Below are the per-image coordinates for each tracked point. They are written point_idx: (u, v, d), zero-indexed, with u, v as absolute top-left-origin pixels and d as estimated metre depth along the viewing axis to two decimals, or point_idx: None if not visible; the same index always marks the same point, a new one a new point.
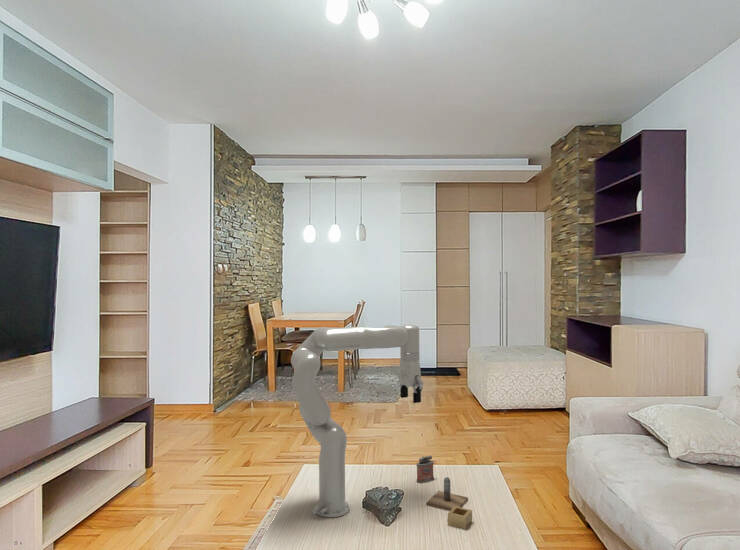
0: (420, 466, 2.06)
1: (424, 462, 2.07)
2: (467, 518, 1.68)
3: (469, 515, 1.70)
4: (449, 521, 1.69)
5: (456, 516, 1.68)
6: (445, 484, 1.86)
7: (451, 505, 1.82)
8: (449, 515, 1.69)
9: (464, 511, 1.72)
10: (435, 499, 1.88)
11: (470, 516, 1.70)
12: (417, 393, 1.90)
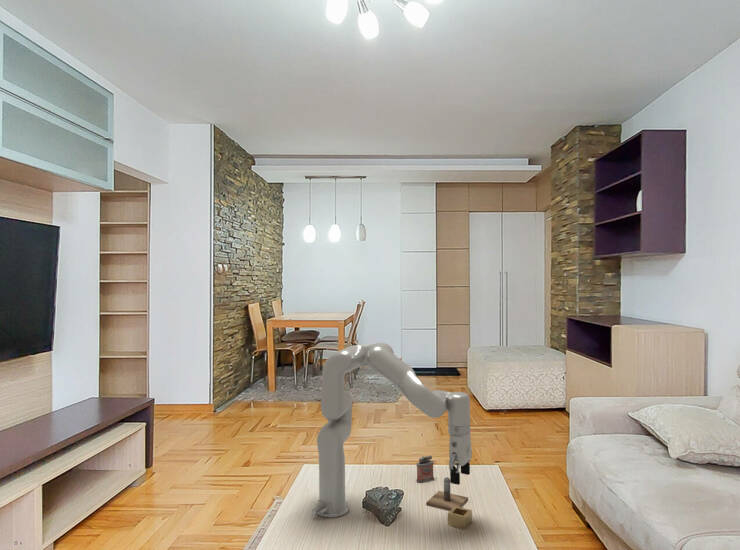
0: (420, 466, 2.06)
1: (424, 462, 2.07)
2: (467, 518, 1.68)
3: (469, 515, 1.70)
4: (449, 521, 1.69)
5: (456, 516, 1.68)
6: (445, 484, 1.86)
7: (451, 505, 1.82)
8: (449, 515, 1.69)
9: (464, 511, 1.72)
10: (435, 499, 1.88)
11: (470, 516, 1.70)
12: None
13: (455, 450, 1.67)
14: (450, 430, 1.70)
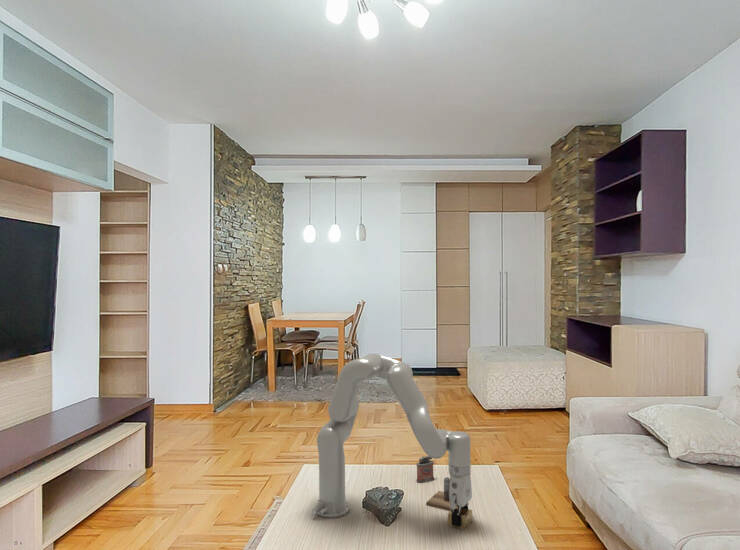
0: (420, 466, 2.06)
1: (424, 462, 2.07)
2: (467, 518, 1.68)
3: (469, 515, 1.70)
4: (449, 521, 1.69)
5: None
6: (445, 484, 1.86)
7: None
8: (449, 515, 1.69)
9: (464, 511, 1.72)
10: (435, 499, 1.88)
11: (470, 516, 1.70)
12: None
13: (455, 491, 1.66)
14: (450, 470, 1.69)
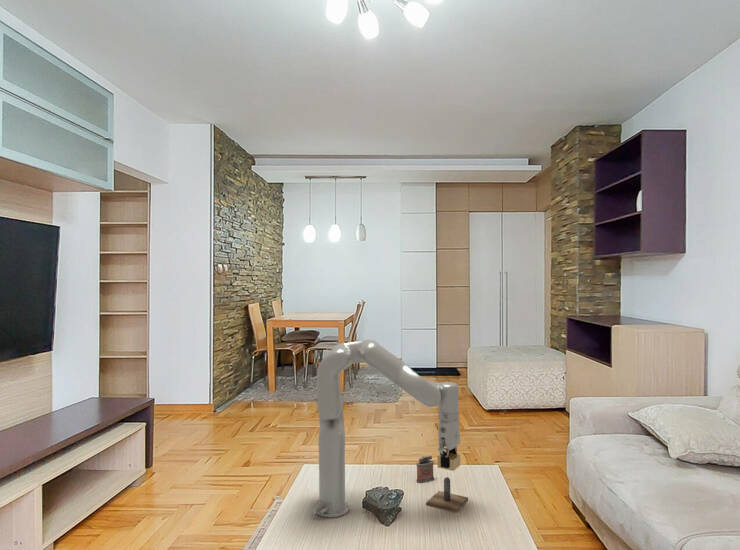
0: (420, 466, 2.06)
1: (424, 462, 2.07)
2: (455, 461, 1.81)
3: (457, 458, 1.83)
4: (439, 464, 1.83)
5: None
6: (445, 484, 1.86)
7: (451, 505, 1.82)
8: (439, 458, 1.83)
9: (453, 455, 1.86)
10: (435, 499, 1.88)
11: (458, 460, 1.84)
12: None
13: (444, 435, 1.80)
14: (440, 417, 1.83)
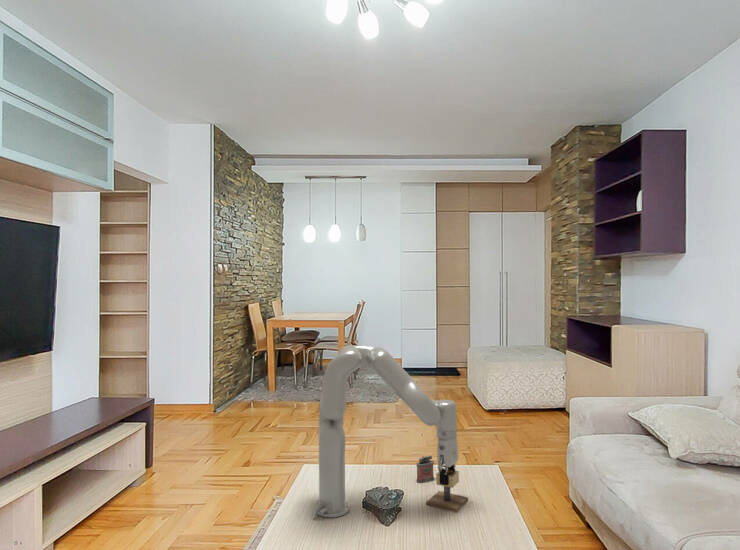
0: (420, 466, 2.06)
1: (424, 462, 2.07)
2: (454, 477, 1.84)
3: (456, 475, 1.86)
4: (438, 481, 1.86)
5: None
6: None
7: (451, 505, 1.82)
8: (437, 475, 1.86)
9: (451, 472, 1.88)
10: (435, 499, 1.88)
11: (457, 476, 1.87)
12: None
13: (442, 453, 1.83)
14: (438, 435, 1.86)
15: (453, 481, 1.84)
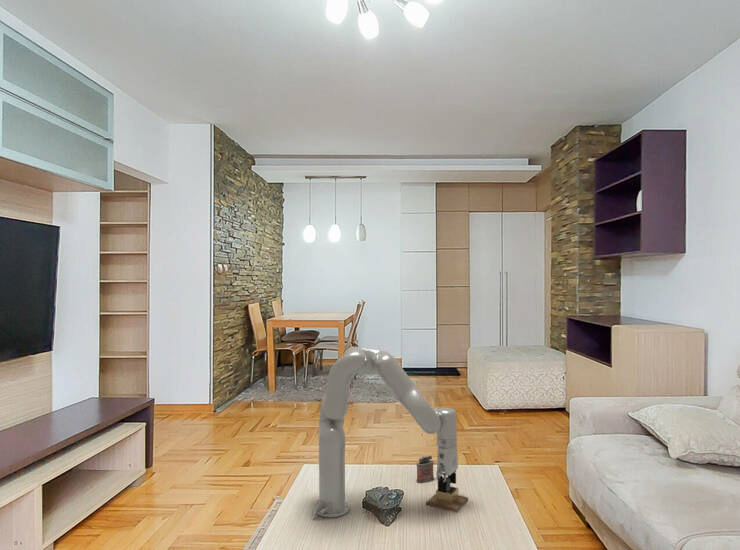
0: (420, 466, 2.06)
1: (424, 462, 2.07)
2: (453, 495, 1.84)
3: (455, 492, 1.86)
4: (437, 497, 1.85)
5: (443, 493, 1.84)
6: None
7: (451, 505, 1.82)
8: (437, 492, 1.86)
9: (451, 489, 1.88)
10: (435, 499, 1.88)
11: (456, 493, 1.87)
12: None
13: (442, 461, 1.83)
14: (438, 443, 1.86)
15: (453, 498, 1.83)
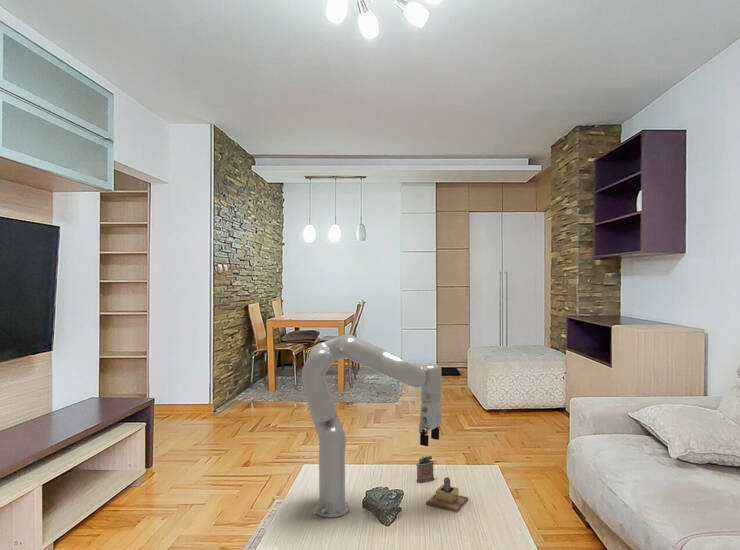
0: (420, 466, 2.06)
1: (424, 462, 2.07)
2: (453, 495, 1.84)
3: (455, 492, 1.86)
4: (437, 497, 1.85)
5: (443, 493, 1.84)
6: (445, 484, 1.86)
7: (451, 505, 1.82)
8: (437, 492, 1.86)
9: (451, 489, 1.88)
10: (435, 499, 1.88)
11: (456, 493, 1.87)
12: None
13: (425, 415, 1.84)
14: (422, 397, 1.87)
15: (453, 498, 1.83)
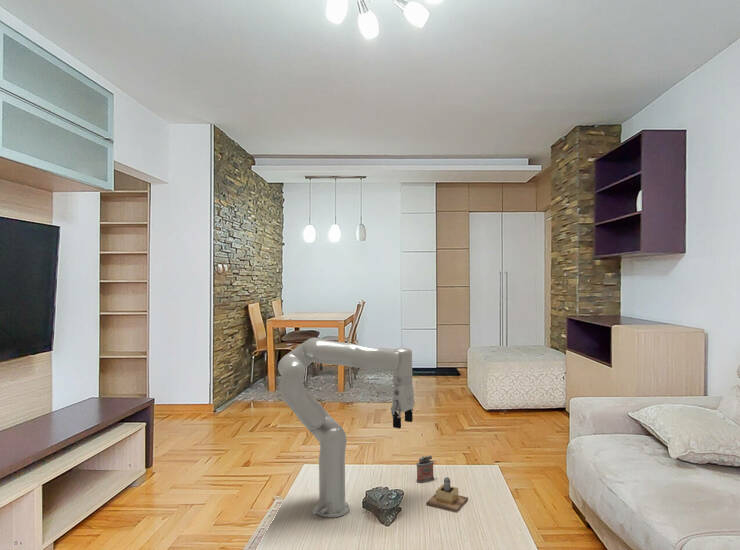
0: (420, 466, 2.06)
1: (424, 462, 2.07)
2: (453, 495, 1.84)
3: (455, 492, 1.86)
4: (437, 497, 1.85)
5: (443, 493, 1.84)
6: (445, 484, 1.86)
7: (451, 505, 1.82)
8: (437, 492, 1.86)
9: (451, 489, 1.88)
10: (435, 499, 1.88)
11: (456, 493, 1.87)
12: None
13: (397, 398, 1.87)
14: (394, 381, 1.90)
15: (453, 498, 1.83)
